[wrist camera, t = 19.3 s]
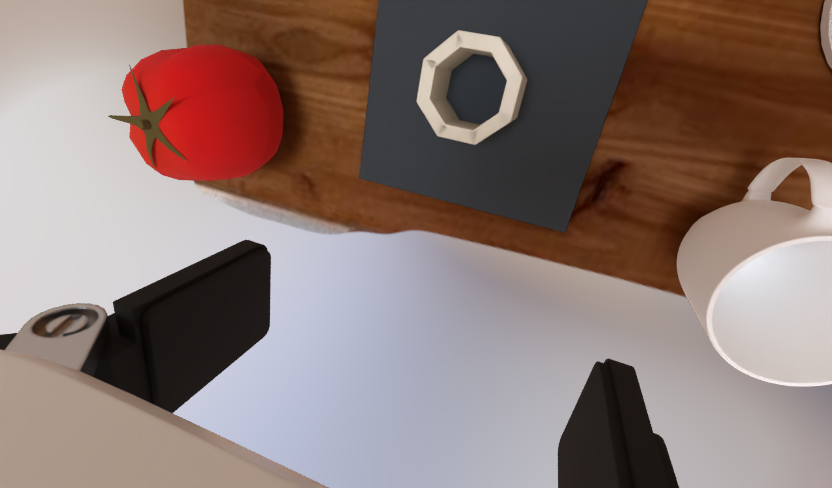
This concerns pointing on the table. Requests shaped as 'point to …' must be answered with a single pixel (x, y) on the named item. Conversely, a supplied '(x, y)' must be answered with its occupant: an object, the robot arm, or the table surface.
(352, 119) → the table surface
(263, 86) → the tomato
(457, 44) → the octagonal ring
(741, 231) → the mug
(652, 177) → the table surface
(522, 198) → the rubber mat
